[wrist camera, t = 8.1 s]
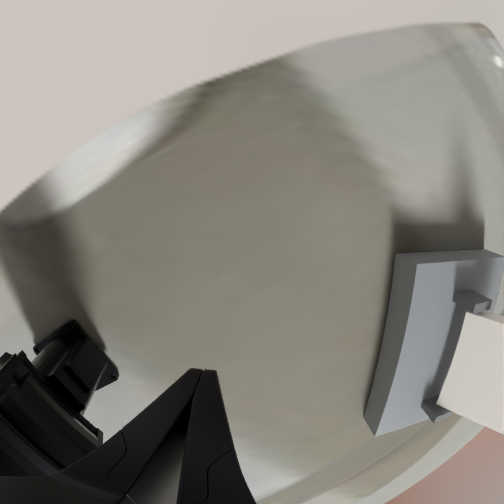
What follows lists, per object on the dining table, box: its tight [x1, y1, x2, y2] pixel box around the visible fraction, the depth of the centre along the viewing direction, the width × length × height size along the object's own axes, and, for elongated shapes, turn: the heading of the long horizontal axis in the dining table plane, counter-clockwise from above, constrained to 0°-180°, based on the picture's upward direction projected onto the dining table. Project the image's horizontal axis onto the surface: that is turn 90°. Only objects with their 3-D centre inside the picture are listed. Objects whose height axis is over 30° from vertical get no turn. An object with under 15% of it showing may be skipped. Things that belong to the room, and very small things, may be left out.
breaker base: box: [364, 249, 504, 436], centre depth 23 cm, size 12×18×6 cm, turn 0°
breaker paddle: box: [436, 310, 504, 434], centre depth 18 cm, size 2×10×9 cm, turn 0°
